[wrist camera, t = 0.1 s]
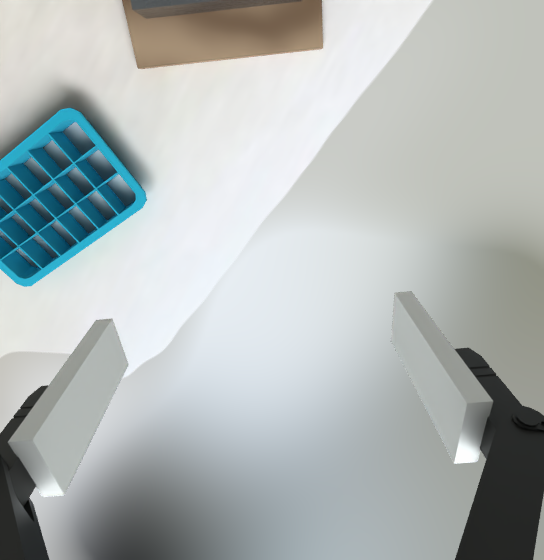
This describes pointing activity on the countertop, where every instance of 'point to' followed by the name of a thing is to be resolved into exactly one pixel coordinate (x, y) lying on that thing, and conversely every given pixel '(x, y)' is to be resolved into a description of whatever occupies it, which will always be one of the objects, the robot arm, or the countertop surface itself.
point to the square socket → (194, 6)
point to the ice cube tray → (13, 162)
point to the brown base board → (225, 33)
